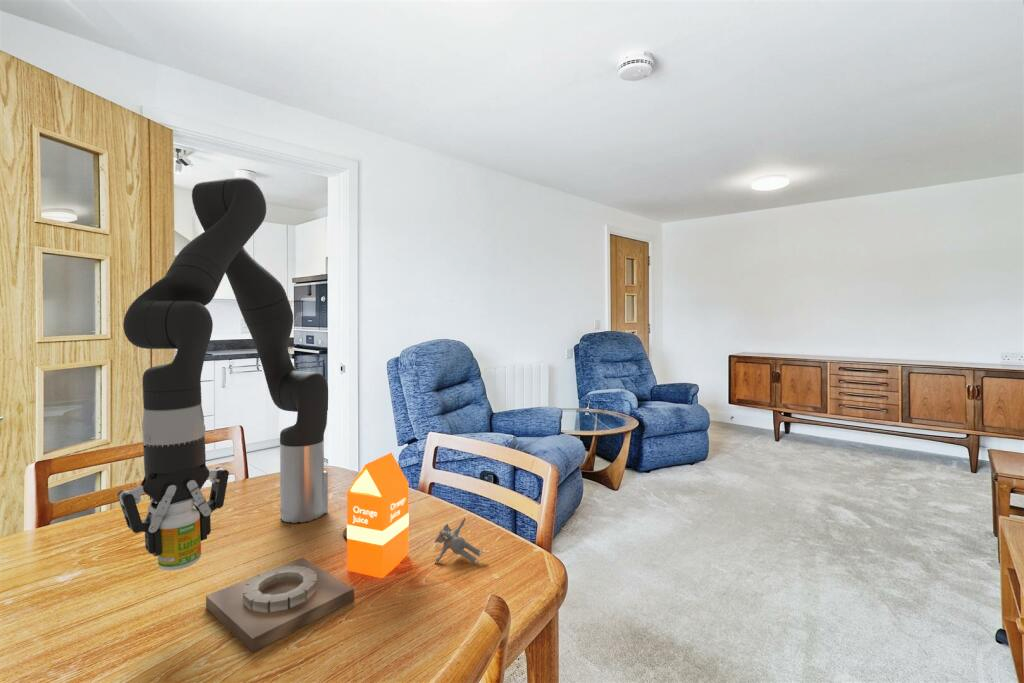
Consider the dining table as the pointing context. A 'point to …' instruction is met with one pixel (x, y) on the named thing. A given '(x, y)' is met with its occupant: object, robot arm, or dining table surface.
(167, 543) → the supplement bottle
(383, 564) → the orange juice
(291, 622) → the stone ring base
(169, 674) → the dining table surface
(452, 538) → the grey plastic figure
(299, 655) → the dining table surface
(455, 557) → the dining table surface
